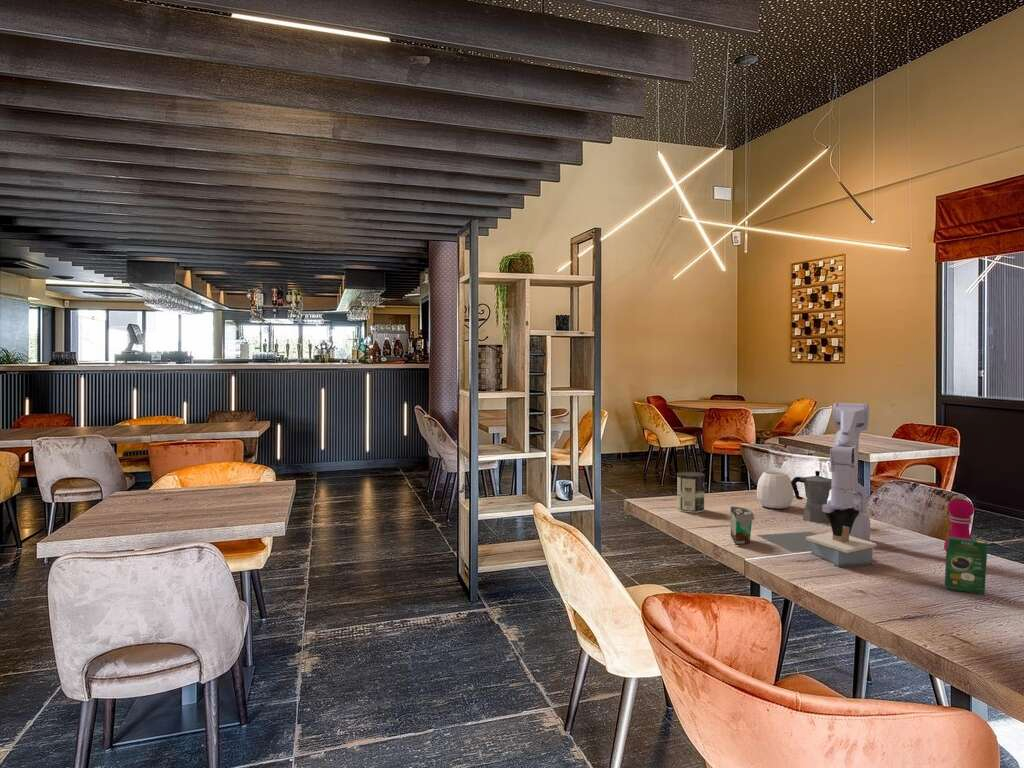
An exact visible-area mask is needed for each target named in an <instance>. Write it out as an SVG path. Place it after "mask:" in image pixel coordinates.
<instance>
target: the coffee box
mask: <svg viewBox="0 0 1024 768" xmlns="http://www.w3.org/2000/svg"><path fill="white" fill-rule="evenodd" d="M947 537H948V540H947V552H946V555H945V569H944V570H945V571H944V587H945V586H946V587H945V589H946V588H947V589H946V590H951V589H952V590H951V591H955V590H960V591H959V592H964V591H966V593H972V594H975V593H976V595H977V594H978V595H985V594H986V593H985V592H986V579H987V577H986V575H987V559H988V543H987V541H986V540H980V539H966V538H958V537H951V536H949V535H947Z"/></svg>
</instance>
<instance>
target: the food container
mask: <svg viewBox="0 0 1024 768" xmlns="http://www.w3.org/2000/svg"><path fill="white" fill-rule="evenodd" d="M754 520H755V516H754V513H753V511H752V510H751V509H749V508H746V507H739V506H730V537H731V538H732V541H733V542H734V543H735V544H734V543H733V544H734V546H735V545H740V546H742V545H743V546H744V545H748V544H750V542H751V532H752V524H753V523H752V522H753V521H754Z"/></svg>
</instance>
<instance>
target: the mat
mask: <svg viewBox="0 0 1024 768" xmlns="http://www.w3.org/2000/svg"><path fill="white" fill-rule="evenodd" d="M813 535H818V534H817V533H814V532H812V531H801V532H800V531H799V532H788V533H787V532H786V533H785V532H784V533H770V534H766V533H765V534H756V537H759V538H762V539H763V540H767V541H768V542H770V543H772V544H774V545H777V546H778V547H781V548H782V549H784V550H787V551H790V552H791V553H797V552H798V553H800V552H811V545H812V541H809V540H806V537H807V536H813Z"/></svg>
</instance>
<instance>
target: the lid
mask: <svg viewBox="0 0 1024 768" xmlns="http://www.w3.org/2000/svg"><path fill="white" fill-rule="evenodd" d="M849 528H850V527H846V526H843V530H842V535H841V536H836V535H833V531H830V532H824V533H818V534H817V535H813V536H807V537H806V540H809V541H812V542H815V543H818V544H821V545H824V546H827V547H830V548H833V549H836V550H839V551H842V552H845V553H849V552H854V551H859V550H863V549H868V548H872V549H873V548H876V547H877V546H878V543H875V542H873V541H872V542H869V541H866V540H862V539H859V538H856V537H852V536H849Z"/></svg>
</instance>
